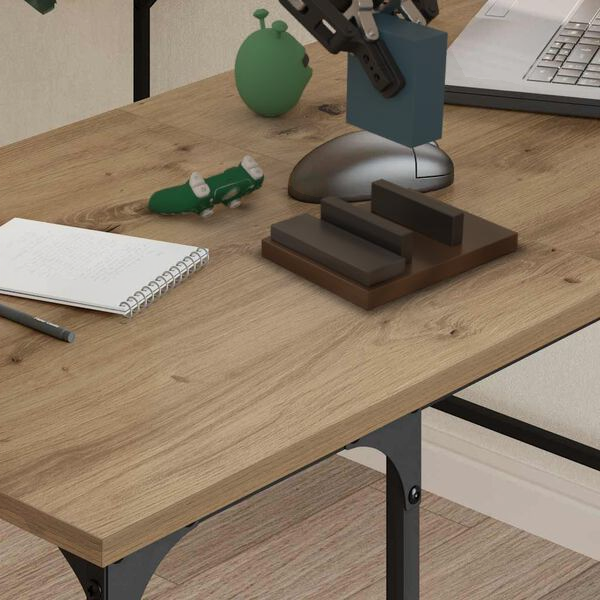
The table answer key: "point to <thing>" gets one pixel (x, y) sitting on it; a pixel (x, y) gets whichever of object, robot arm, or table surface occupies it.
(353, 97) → the back pad
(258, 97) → the alien toy
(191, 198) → the gaming controller
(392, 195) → the brown wooden stand
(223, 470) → the table surface
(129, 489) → the table surface
